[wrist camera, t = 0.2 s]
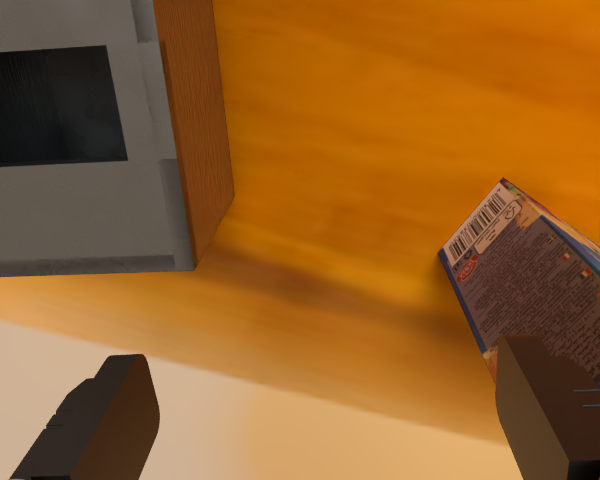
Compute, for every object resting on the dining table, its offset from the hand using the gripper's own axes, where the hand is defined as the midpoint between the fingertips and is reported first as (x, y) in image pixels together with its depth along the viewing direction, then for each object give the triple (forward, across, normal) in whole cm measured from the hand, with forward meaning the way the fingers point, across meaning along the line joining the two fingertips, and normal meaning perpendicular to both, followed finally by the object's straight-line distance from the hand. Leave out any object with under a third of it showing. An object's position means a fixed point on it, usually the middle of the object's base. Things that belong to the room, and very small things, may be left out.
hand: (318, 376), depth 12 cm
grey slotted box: (+29, +14, -4) cm, 32 cm away
